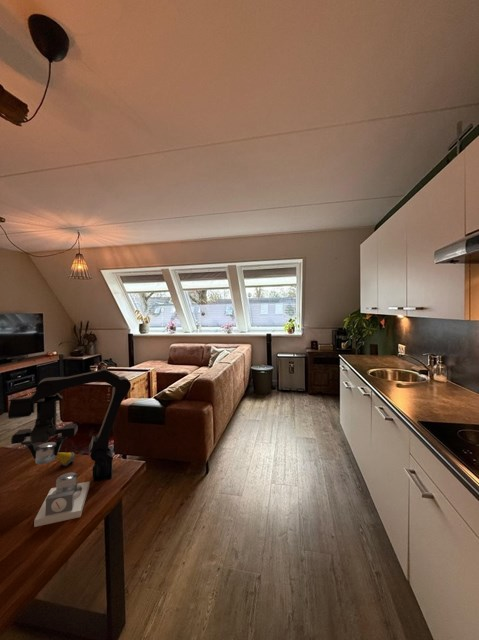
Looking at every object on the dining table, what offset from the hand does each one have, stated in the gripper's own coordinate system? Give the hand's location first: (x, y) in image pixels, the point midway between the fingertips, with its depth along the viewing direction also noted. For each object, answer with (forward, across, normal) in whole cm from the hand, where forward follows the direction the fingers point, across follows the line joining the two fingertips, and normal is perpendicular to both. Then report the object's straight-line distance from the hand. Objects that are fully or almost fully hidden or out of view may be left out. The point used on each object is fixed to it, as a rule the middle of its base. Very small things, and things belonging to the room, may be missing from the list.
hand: (46, 456), depth 94 cm
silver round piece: (+9, +8, -8) cm, 15 cm away
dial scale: (+12, +8, -10) cm, 18 cm away
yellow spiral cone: (+13, +2, +17) cm, 22 cm away
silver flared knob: (+1, 0, 0) cm, 1 cm away
